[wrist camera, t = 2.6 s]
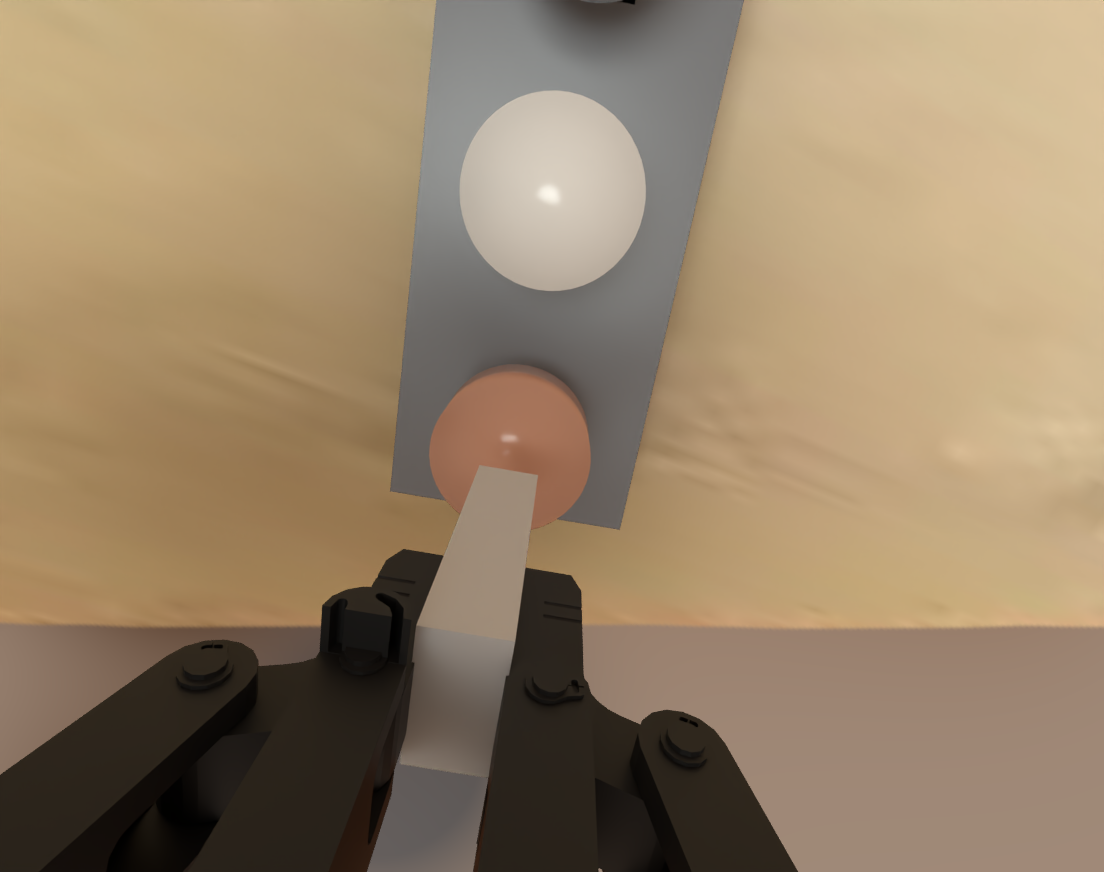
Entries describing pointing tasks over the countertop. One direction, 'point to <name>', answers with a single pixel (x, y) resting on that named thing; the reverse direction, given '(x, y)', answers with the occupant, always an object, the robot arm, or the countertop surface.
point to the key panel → (609, 301)
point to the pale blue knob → (601, 1)
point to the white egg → (552, 190)
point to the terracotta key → (514, 437)
